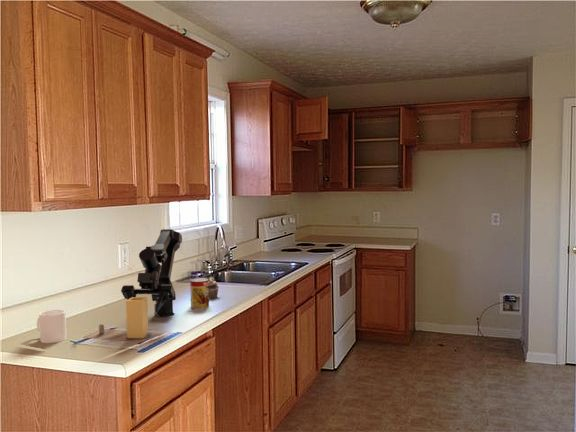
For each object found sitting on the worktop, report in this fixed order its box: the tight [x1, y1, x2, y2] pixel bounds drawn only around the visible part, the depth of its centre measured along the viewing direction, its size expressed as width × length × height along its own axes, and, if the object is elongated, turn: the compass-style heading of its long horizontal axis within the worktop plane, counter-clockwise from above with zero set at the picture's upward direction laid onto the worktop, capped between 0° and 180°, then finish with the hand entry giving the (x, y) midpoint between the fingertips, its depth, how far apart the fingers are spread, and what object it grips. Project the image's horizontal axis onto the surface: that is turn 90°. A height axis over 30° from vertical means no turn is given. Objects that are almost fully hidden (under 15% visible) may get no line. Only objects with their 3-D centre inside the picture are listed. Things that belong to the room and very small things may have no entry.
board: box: [82, 323, 157, 345], centre depth 181 cm, size 23×11×4 cm, turn 74°
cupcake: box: [202, 275, 219, 300], centre depth 244 cm, size 10×10×10 cm
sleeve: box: [125, 296, 149, 338], centre depth 179 cm, size 6×6×13 cm
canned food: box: [189, 277, 210, 310], centre depth 225 cm, size 8×8×12 cm
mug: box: [36, 309, 67, 344], centre depth 178 cm, size 12×8×10 cm
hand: (143, 311), depth 185 cm, fingers open, 9 cm apart
